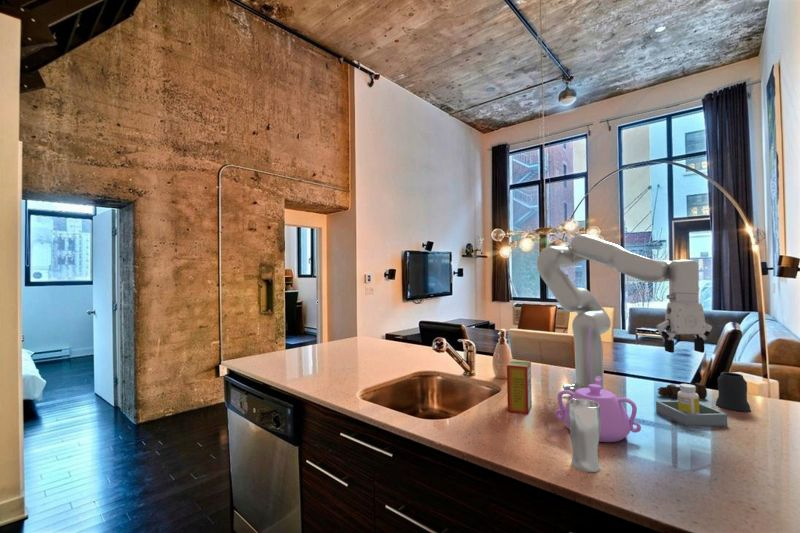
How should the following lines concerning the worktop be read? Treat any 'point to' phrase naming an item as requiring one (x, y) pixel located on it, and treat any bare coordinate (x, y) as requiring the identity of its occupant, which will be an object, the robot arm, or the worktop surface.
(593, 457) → the beer glass
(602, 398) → the purple lidded sugar bowl
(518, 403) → the baking soda box
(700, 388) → the bolt
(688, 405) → the supplement bottle
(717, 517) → the worktop surface
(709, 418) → the tray
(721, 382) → the mug
